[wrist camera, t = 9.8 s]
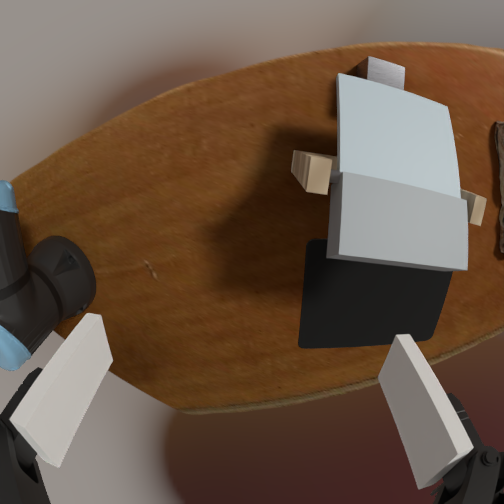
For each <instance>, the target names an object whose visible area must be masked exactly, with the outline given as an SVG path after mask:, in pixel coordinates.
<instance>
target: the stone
mask: <svg viewBox="0 0 504 504" xmlns="http://www.w3.org/2000/svg"><path fill="white" fill-rule="evenodd" d="M495 142H496V149H497V153H498V159H499V178H500V191H501V196H502V198H501V200H502V208H501V210H500V215H499V220H500V249H501V253H504V122H501V121H497V122H496V125H495Z"/></svg>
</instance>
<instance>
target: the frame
mask: <svg viewBox="0 0 504 504" xmlns="http://www.w3.org/2000/svg"><path fill="white" fill-rule="evenodd" d="M331 169H333V170H337V157H336V156H330V155H324V154H318V153H311V152H305V151H298V150H294V151H293V160H292V168H291V173H293V174H294V176H295V177H296V178H297V180H298V181H299V182H300V184H301V185H302V187H303V188H304V189H305V191H306V192H312V193H319V194H326V195H327V192H328V186H329V179H330V173H331ZM460 193H461V199H464V200H467V215H468V222H469V223H472V224H476V225H480V226H481V222H482V218H483V214H484V209H485V205H486V200H487V199H486V198H484V197H481V196H479V195H476V194H474V193H471V192H468V191H466V190H463V189H460Z"/></svg>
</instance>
